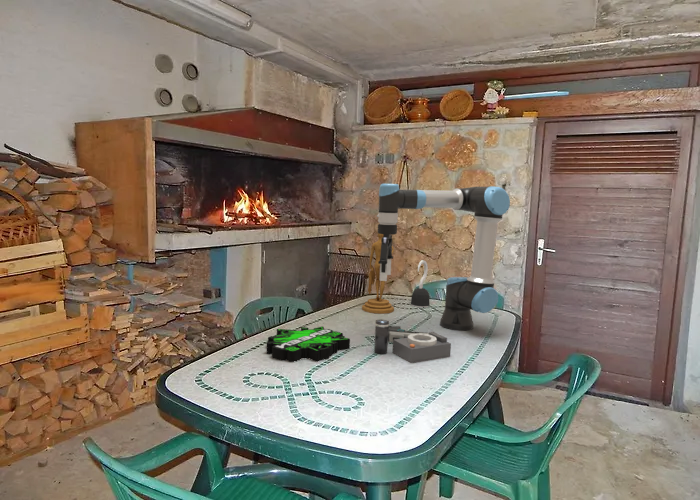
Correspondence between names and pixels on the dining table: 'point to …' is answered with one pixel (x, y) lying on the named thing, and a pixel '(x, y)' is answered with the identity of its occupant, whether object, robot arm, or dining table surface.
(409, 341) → the camera body
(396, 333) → the handgun
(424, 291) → the hook
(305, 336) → the sign
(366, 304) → the statue
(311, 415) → the dining table surface
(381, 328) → the lens
